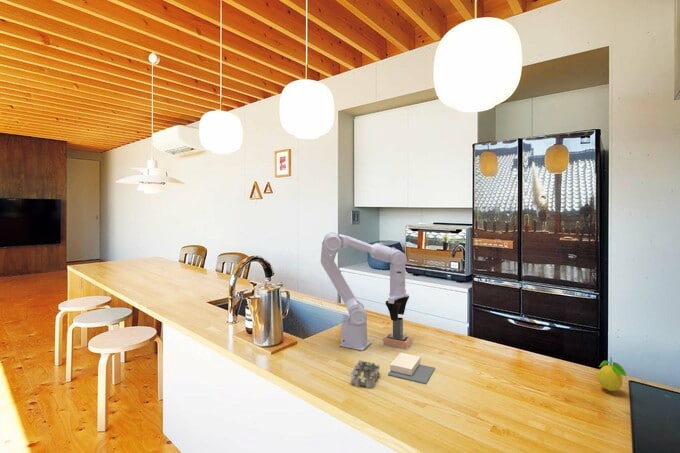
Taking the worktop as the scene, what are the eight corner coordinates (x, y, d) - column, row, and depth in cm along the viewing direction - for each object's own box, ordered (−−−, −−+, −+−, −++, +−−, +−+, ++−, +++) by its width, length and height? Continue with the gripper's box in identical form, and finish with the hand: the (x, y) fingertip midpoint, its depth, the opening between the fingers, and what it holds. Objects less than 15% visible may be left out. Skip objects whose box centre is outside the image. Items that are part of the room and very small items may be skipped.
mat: (387, 375, 111) (387, 374, 111) (399, 361, 120) (399, 360, 120) (426, 384, 105) (426, 383, 105) (434, 368, 115) (434, 367, 115)
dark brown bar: (404, 347, 132) (404, 320, 131) (389, 344, 135) (389, 318, 134) (406, 344, 135) (406, 318, 134) (391, 341, 137) (391, 316, 137)
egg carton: (373, 390, 103) (373, 377, 102) (348, 385, 105) (348, 372, 105) (381, 373, 113) (381, 360, 112) (359, 369, 115) (359, 357, 115)
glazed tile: (400, 358, 121) (390, 371, 112) (400, 352, 121) (390, 364, 112) (420, 363, 118) (411, 376, 109) (420, 356, 118) (411, 369, 109)
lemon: (625, 400, 96) (627, 364, 95) (598, 394, 99) (600, 359, 98) (621, 389, 101) (623, 355, 101) (596, 383, 104) (598, 350, 104)
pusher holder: (406, 349, 130) (406, 342, 130) (383, 344, 134) (383, 338, 134) (411, 343, 135) (411, 336, 135) (388, 339, 140) (388, 332, 139)
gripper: (401, 287, 125) (401, 324, 126) (413, 279, 137) (413, 313, 138) (382, 285, 128) (383, 321, 129) (396, 277, 141) (396, 310, 142)
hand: (397, 317), depth 134 cm, fingers open, 7 cm apart
